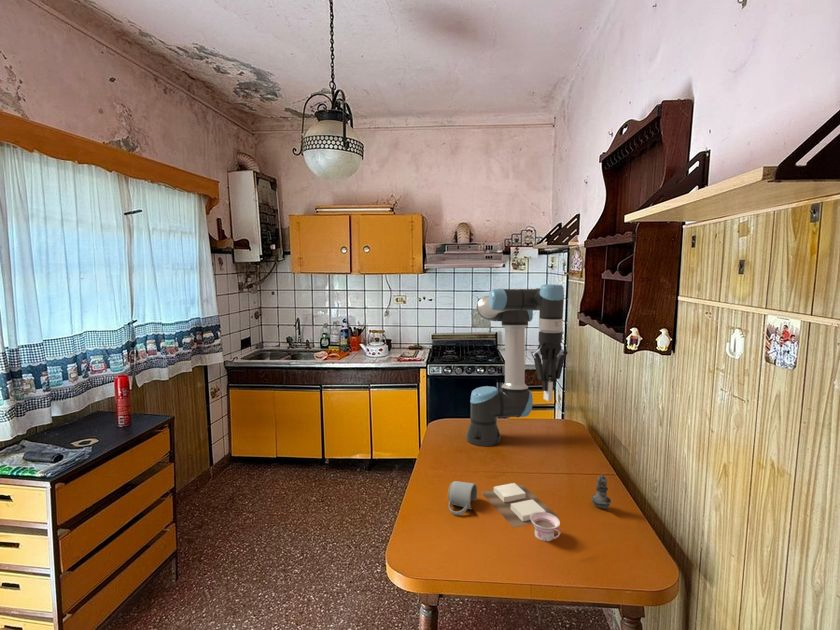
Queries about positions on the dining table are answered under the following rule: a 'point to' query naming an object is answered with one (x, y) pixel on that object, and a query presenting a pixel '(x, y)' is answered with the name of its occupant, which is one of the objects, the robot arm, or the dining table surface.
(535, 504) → the tile
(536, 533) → the teacup
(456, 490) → the ceramic mug
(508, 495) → the tile
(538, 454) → the dining table surface
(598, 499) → the grey stone finial
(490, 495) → the walnut board
